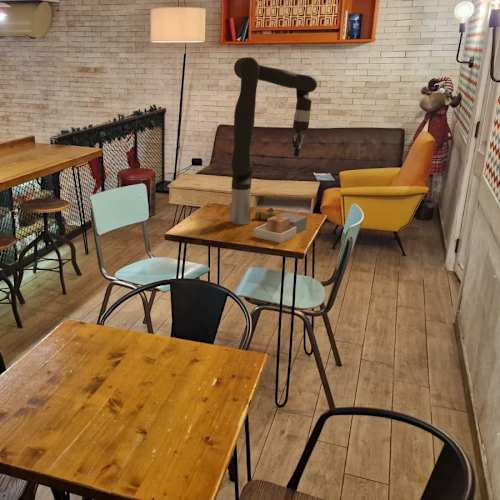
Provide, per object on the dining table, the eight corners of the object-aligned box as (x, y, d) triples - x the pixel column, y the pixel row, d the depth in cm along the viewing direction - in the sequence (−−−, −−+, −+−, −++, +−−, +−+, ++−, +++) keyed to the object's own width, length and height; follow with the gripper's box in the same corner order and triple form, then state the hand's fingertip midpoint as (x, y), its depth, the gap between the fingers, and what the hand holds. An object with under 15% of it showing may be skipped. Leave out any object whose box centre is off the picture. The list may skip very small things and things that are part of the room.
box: (253, 237, 213) (253, 228, 212) (269, 229, 224) (270, 221, 223) (280, 243, 206) (281, 234, 204) (296, 235, 217) (296, 227, 216)
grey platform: (271, 230, 224) (272, 217, 221) (284, 224, 233) (284, 212, 231) (294, 235, 217) (294, 222, 215) (306, 228, 227) (307, 216, 225)
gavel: (263, 204, 257) (281, 205, 255) (262, 212, 258) (280, 214, 256) (255, 211, 237) (274, 213, 235) (254, 220, 238) (274, 222, 236)
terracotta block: (276, 229, 221) (266, 233, 215) (276, 215, 219) (267, 218, 212) (289, 232, 217) (280, 236, 211) (289, 217, 215) (280, 221, 209)
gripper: (298, 119, 235) (293, 154, 241) (289, 119, 224) (284, 156, 229) (313, 121, 233) (307, 156, 238) (304, 121, 221) (299, 158, 226)
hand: (296, 156), depth 234 cm, fingers closed
